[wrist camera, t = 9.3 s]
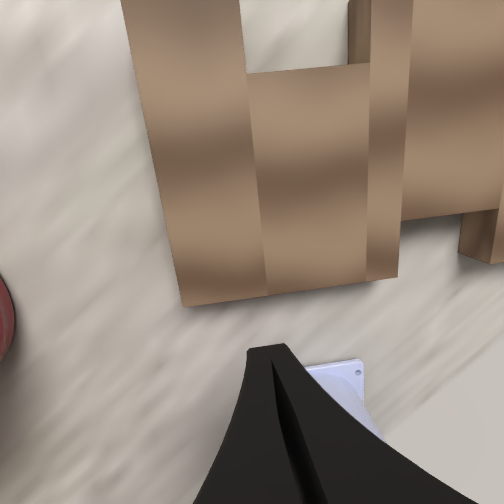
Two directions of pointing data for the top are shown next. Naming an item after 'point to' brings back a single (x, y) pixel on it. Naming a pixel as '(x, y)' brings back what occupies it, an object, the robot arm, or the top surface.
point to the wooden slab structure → (320, 143)
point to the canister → (5, 320)
